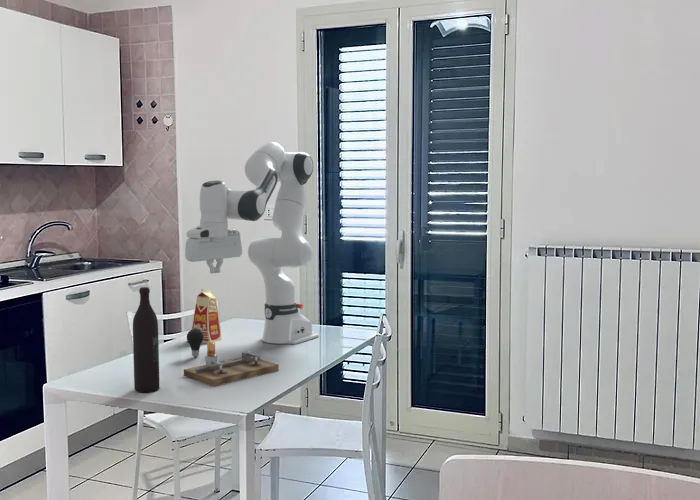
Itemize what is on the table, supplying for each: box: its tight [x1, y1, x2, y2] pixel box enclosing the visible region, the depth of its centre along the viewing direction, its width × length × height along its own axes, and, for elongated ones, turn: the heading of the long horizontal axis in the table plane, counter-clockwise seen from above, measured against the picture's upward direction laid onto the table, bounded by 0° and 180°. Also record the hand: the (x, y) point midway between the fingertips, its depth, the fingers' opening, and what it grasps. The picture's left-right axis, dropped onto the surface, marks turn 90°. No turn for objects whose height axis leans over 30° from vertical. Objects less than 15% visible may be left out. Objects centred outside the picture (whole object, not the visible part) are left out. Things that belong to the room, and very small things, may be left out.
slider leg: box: [205, 342, 223, 372], centre depth 220 cm, size 2×7×8 cm, turn 45°
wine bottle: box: [132, 286, 160, 394], centre depth 206 cm, size 7×7×30 cm
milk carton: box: [191, 289, 222, 344], centre depth 271 cm, size 9×9×20 cm
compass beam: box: [196, 351, 261, 374], centre depth 225 cm, size 24×6×3 cm, turn 136°
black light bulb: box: [186, 328, 203, 359], centre depth 244 cm, size 6×6×10 cm
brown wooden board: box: [183, 356, 280, 387], centre depth 225 cm, size 25×16×2 cm, turn 136°
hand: (215, 273), depth 233 cm, fingers closed
